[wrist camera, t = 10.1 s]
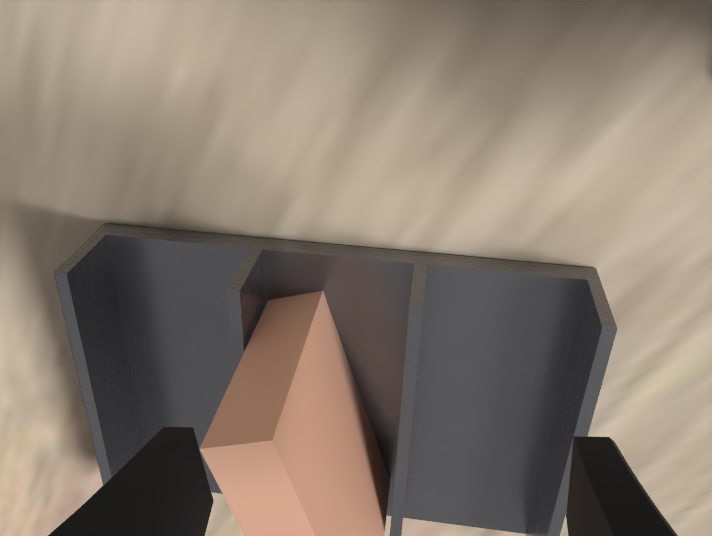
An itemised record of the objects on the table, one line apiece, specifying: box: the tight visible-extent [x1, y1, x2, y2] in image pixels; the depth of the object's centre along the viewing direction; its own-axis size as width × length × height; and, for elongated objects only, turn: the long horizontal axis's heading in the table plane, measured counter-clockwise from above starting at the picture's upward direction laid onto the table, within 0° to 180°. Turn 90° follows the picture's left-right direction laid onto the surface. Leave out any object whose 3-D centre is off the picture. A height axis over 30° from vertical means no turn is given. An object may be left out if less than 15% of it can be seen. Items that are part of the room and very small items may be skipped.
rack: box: [54, 223, 617, 536], centre depth 24 cm, size 17×12×3 cm
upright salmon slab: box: [200, 291, 390, 536], centre depth 22 cm, size 2×9×7 cm, turn 16°
